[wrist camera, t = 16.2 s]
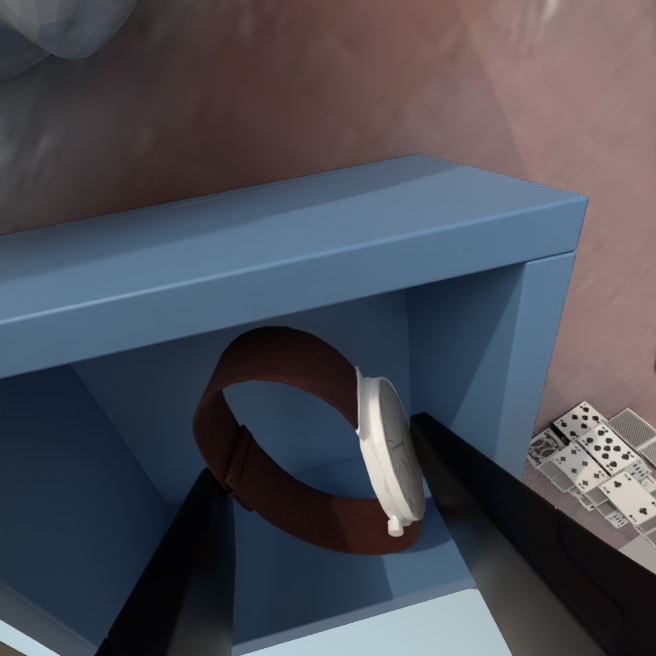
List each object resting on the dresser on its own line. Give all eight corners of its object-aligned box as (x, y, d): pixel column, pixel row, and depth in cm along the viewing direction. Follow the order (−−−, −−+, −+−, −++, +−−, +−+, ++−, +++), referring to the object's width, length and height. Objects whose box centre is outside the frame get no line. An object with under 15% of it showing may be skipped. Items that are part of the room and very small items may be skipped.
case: (420, 152, 10) (591, 195, 5) (422, 436, 16) (497, 580, 11) (-28, 240, 9) (-375, 400, 4) (161, 503, 15) (118, 691, 10)
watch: (430, 456, 12) (493, 578, 9) (305, 515, 12) (323, 651, 9) (330, 265, 8) (385, 371, 5) (145, 366, 8) (81, 523, 5)
